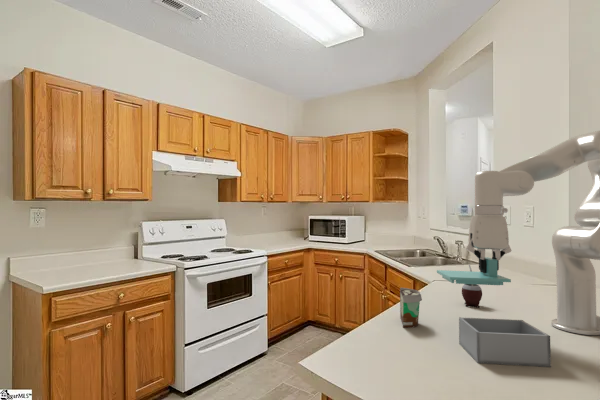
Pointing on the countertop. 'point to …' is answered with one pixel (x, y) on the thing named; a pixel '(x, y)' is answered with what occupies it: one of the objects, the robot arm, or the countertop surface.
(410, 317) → the food container
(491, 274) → the lid
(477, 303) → the mate gourd
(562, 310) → the robot arm
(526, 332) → the tub
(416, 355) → the countertop surface
